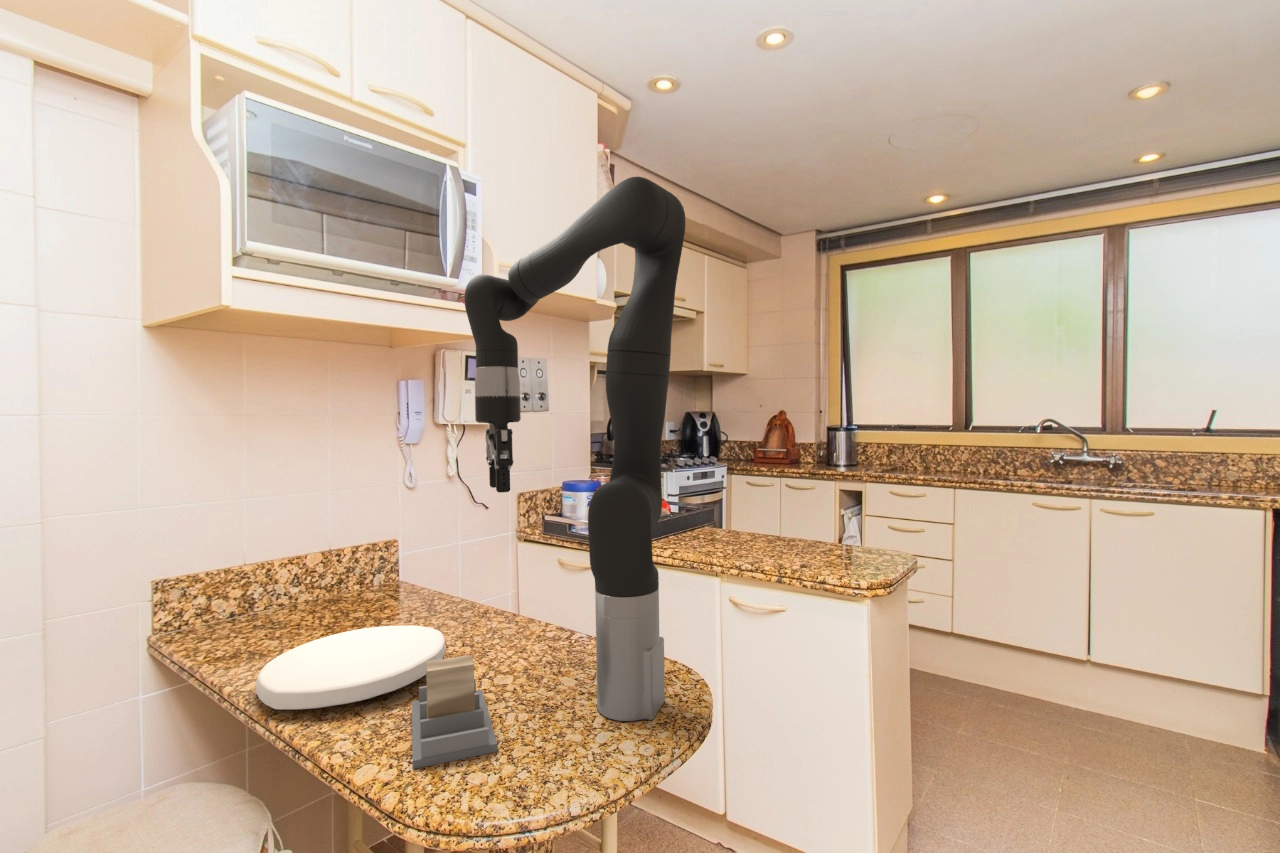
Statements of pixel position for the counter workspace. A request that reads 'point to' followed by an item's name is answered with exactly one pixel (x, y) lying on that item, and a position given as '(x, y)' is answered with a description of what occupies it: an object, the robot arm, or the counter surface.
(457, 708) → the block
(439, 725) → the rack
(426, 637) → the plate
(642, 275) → the robot arm
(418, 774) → the counter surface
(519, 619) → the counter surface
